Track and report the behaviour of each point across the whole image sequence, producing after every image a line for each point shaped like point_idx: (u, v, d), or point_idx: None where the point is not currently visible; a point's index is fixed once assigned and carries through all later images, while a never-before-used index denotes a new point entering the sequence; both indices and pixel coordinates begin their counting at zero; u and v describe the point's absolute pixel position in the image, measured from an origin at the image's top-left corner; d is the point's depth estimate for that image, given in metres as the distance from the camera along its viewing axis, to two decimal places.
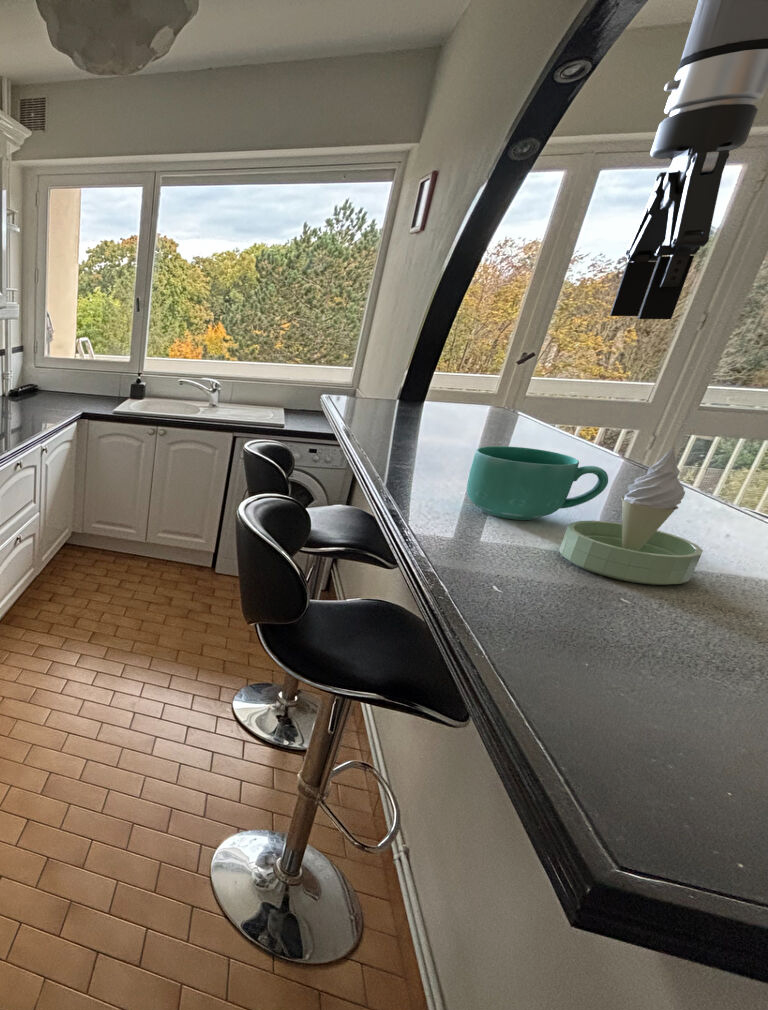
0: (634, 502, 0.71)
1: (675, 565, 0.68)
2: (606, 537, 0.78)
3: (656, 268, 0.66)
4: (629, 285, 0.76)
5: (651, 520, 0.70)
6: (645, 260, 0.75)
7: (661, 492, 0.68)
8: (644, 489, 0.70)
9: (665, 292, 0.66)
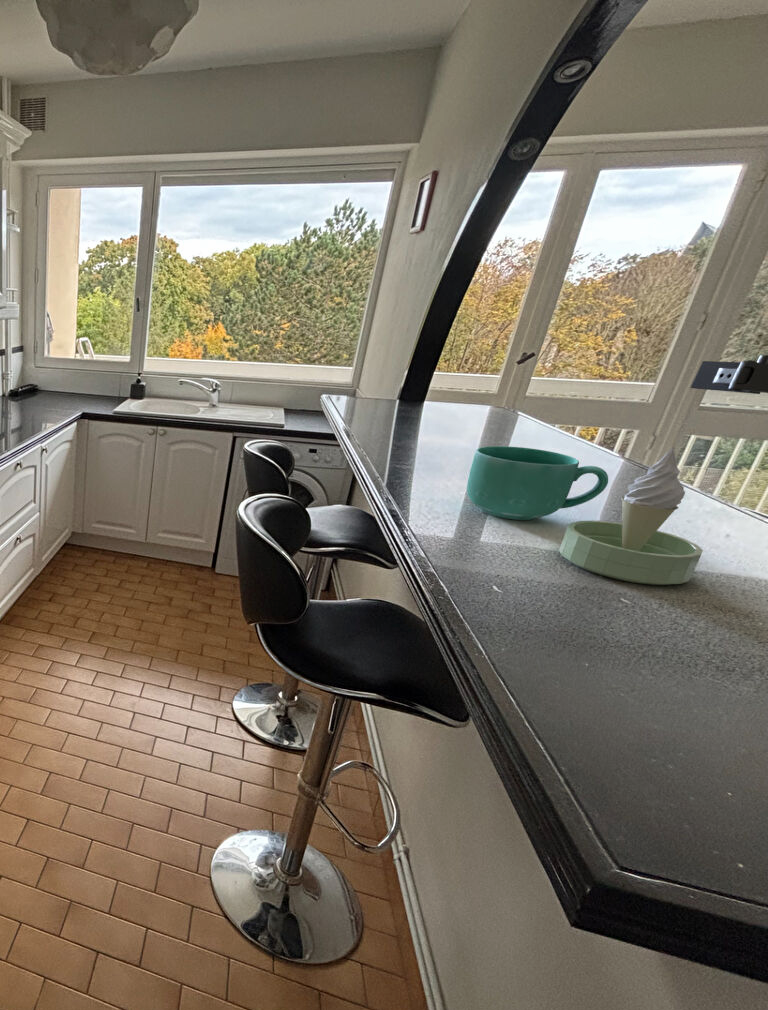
0: (634, 502, 0.71)
1: (675, 565, 0.68)
2: (606, 537, 0.78)
3: None
4: None
5: (651, 520, 0.70)
6: None
7: (661, 492, 0.68)
8: (644, 489, 0.70)
9: None
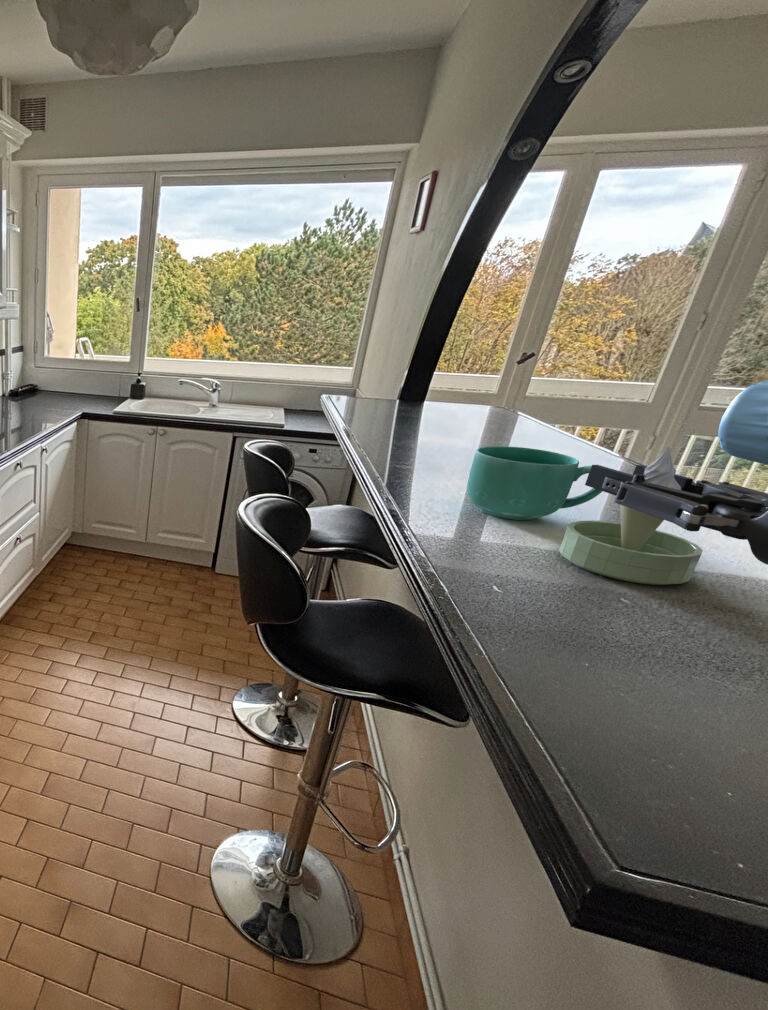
0: None
1: (675, 565, 0.68)
2: (606, 537, 0.78)
3: None
4: None
5: (649, 520, 0.70)
6: None
7: None
8: None
9: None
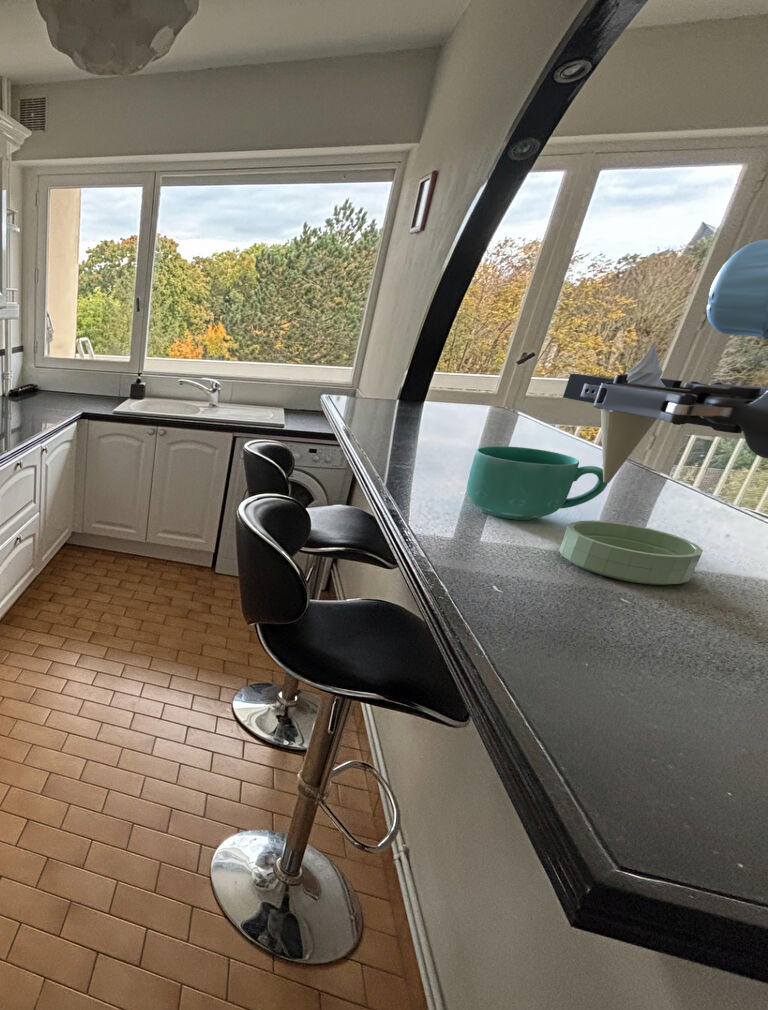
0: None
1: (675, 565, 0.68)
2: (606, 537, 0.78)
3: None
4: None
5: (633, 428, 0.63)
6: None
7: None
8: None
9: None
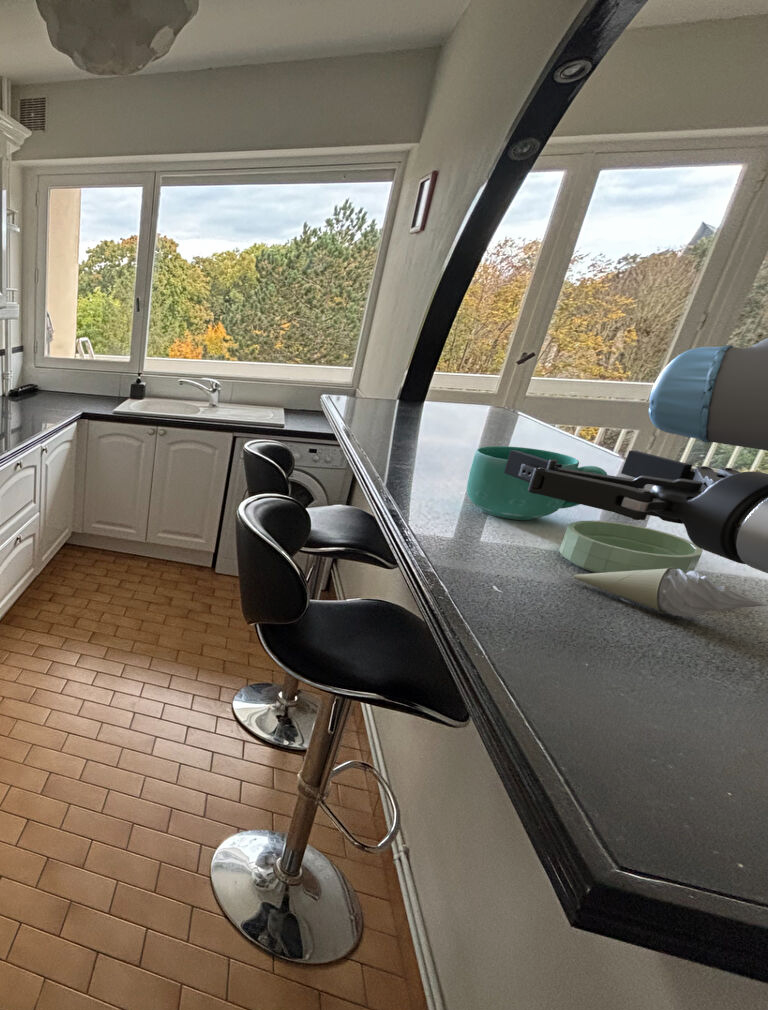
0: (673, 568, 0.62)
1: (675, 565, 0.68)
2: (606, 537, 0.78)
3: None
4: None
5: (642, 578, 0.63)
6: None
7: (688, 579, 0.60)
8: (694, 574, 0.61)
9: None
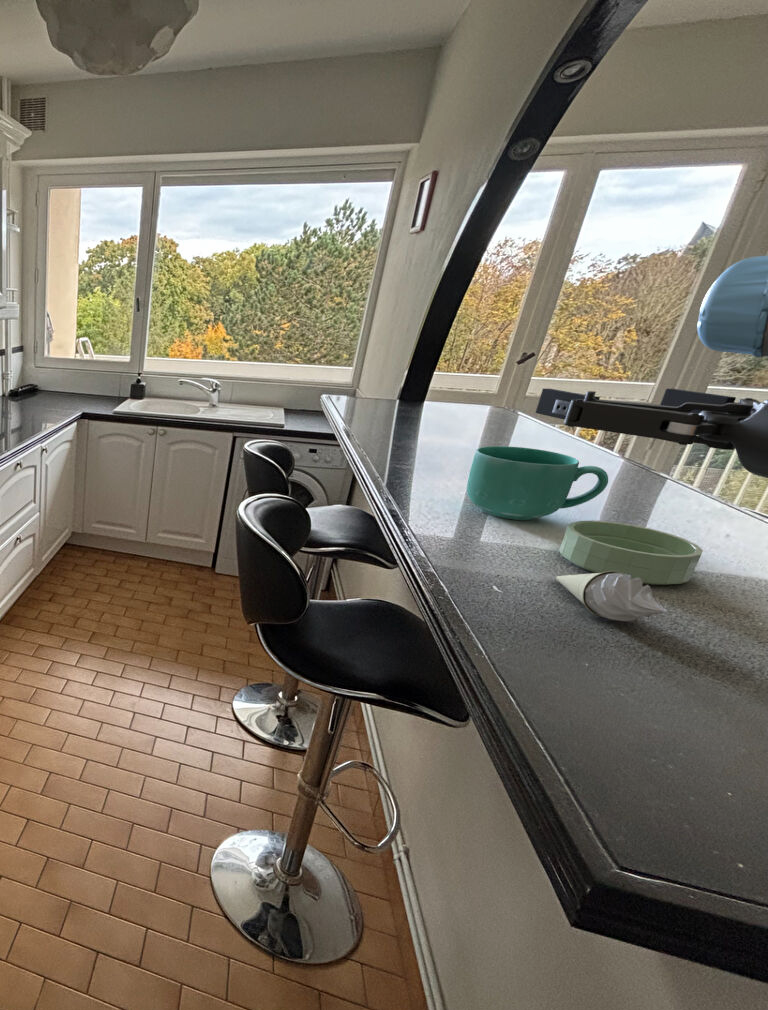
0: (599, 614, 0.62)
1: (675, 565, 0.68)
2: (606, 537, 0.78)
3: None
4: None
5: None
6: None
7: (633, 619, 0.60)
8: None
9: None
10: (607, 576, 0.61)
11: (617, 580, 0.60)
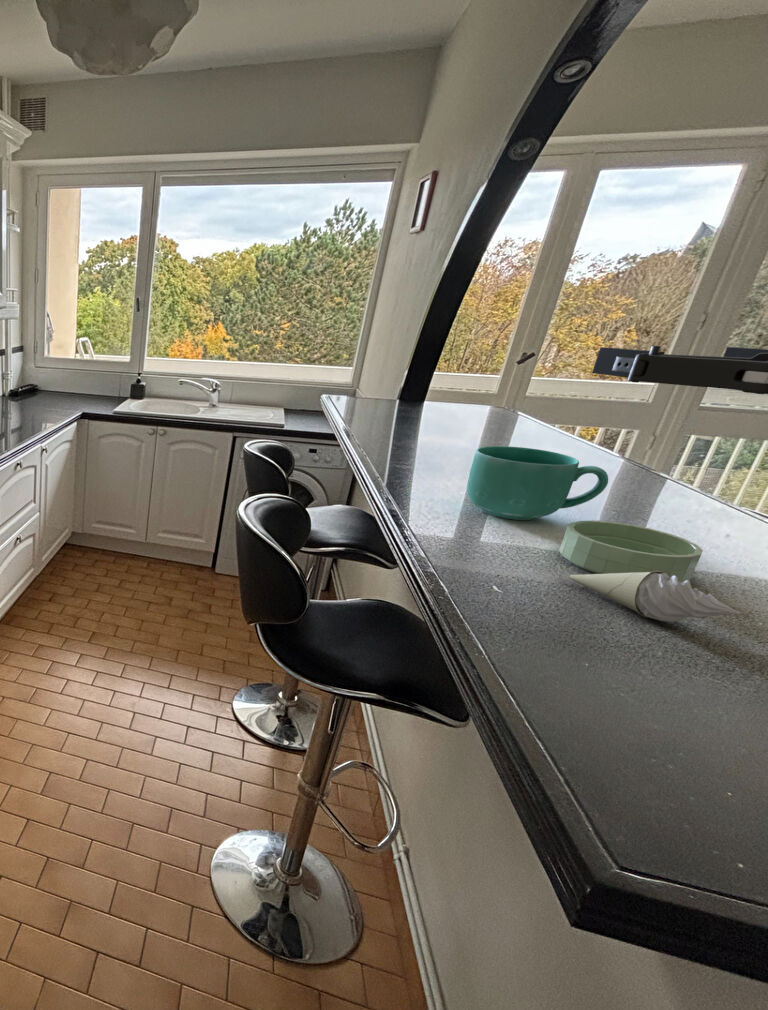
0: (643, 583, 0.61)
1: (675, 565, 0.68)
2: (606, 537, 0.78)
3: None
4: None
5: (620, 597, 0.63)
6: None
7: (658, 605, 0.60)
8: (663, 591, 0.59)
9: None
10: None
11: None
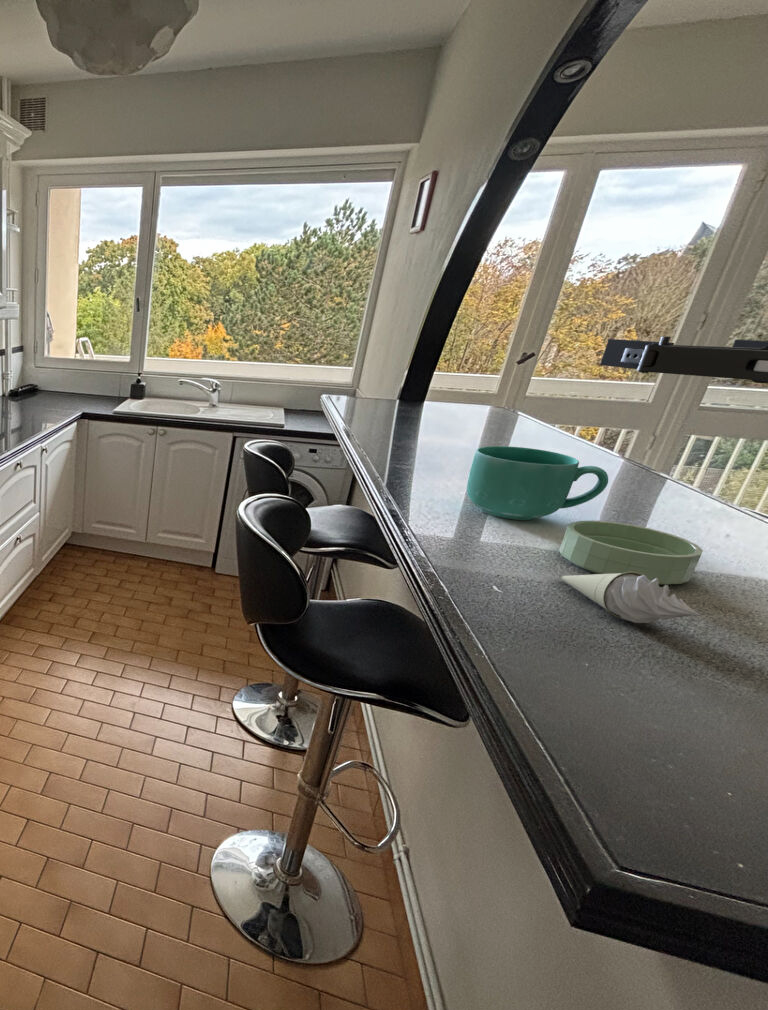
0: (608, 607, 0.62)
1: (675, 565, 0.68)
2: (606, 537, 0.78)
3: None
4: None
5: None
6: None
7: (637, 622, 0.60)
8: None
9: None
10: (643, 575, 0.60)
11: (655, 580, 0.59)
